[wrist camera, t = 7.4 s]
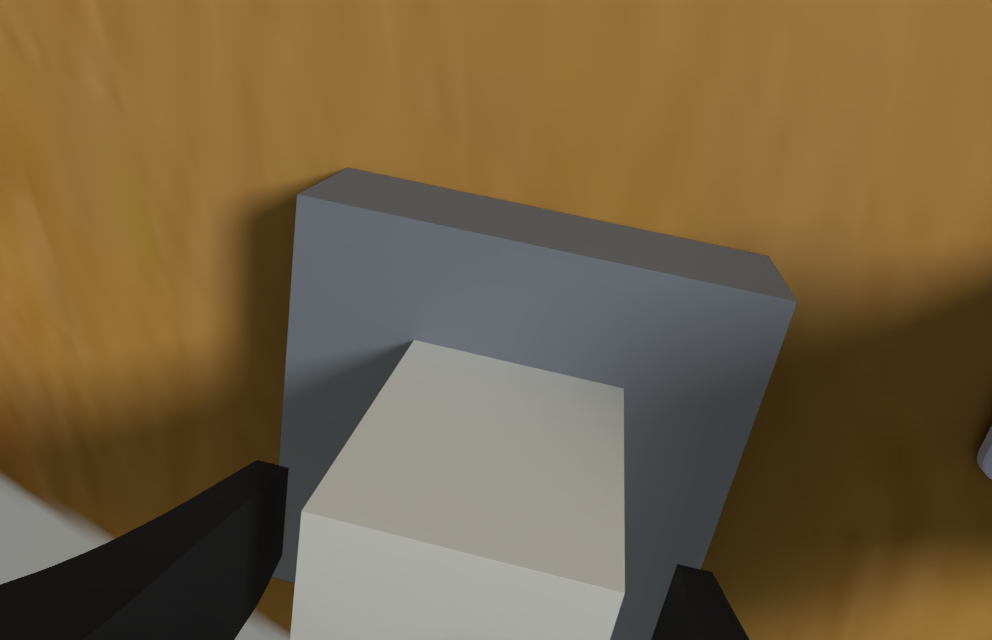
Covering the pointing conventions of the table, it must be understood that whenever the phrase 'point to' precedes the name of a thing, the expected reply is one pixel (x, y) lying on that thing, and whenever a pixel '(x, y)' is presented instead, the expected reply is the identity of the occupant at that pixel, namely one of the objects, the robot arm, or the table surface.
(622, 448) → the cream block
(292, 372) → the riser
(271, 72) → the table surface
